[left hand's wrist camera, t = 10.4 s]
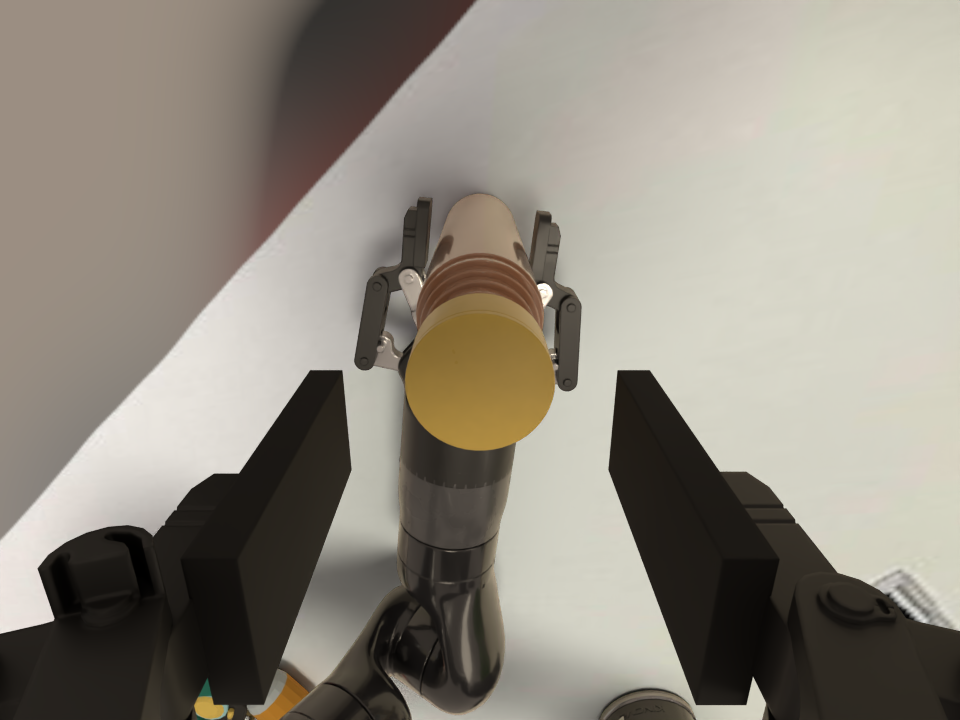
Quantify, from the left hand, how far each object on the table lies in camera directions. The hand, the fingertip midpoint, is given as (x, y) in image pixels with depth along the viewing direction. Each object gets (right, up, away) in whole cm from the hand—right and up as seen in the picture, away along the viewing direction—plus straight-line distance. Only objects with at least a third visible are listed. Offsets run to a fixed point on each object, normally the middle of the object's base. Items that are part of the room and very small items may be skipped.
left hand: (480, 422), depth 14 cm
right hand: (0, +10, +19) cm, 22 cm away
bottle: (0, +10, +26) cm, 28 cm away
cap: (0, +1, +2) cm, 2 cm away
